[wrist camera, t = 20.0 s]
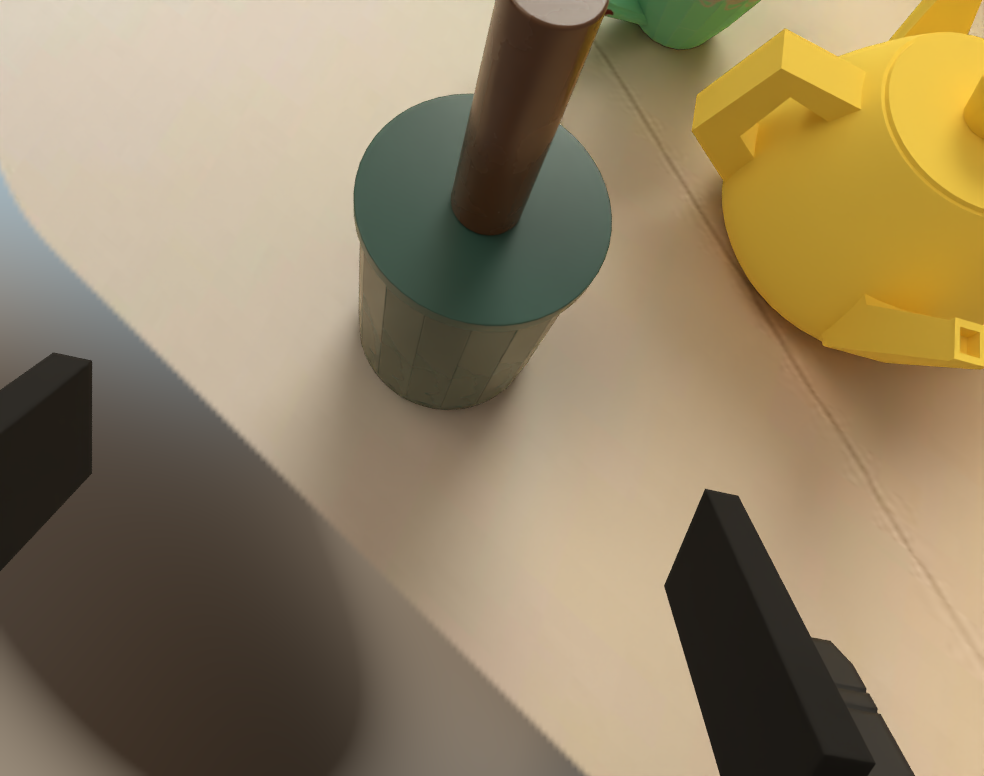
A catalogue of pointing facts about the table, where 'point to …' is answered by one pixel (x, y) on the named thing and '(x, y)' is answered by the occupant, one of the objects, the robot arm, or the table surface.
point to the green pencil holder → (437, 350)
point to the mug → (680, 18)
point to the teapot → (861, 185)
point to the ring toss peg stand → (492, 182)
